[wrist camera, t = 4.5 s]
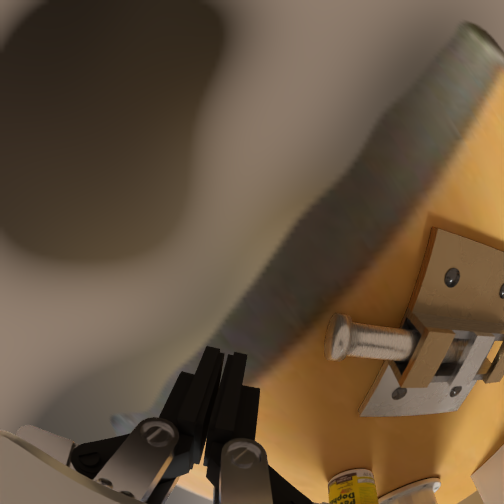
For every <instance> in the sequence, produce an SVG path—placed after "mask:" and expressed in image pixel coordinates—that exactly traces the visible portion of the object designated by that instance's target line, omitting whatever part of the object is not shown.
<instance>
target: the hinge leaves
mask: <svg viewBox="0 0 504 504" xmlns="http://www.w3.org/2000/svg"><path fill="white" fill-rule="evenodd" d="M399 329H407V330H416V331H419V332H420V334H421V335H422V336H421V338H420V341H419V343H418V345H417V347H416V349H415V351H414V353H413V355H412V357H411V359H410V361H394V360H385V361H384V363H383V365H382V367H381V369H380V371H379V373H378V375H377V377H376V379H375V381H374V383H373V385H372V387H371V388H370V390H369V392H368V394H367V396H366V397H365V399H364V401H363V403H362V404H361V406H360V408H359V410H358V412H359V416H360V417H388V416H412V415H425V414H435V413H444V412H452V411H457V410H458V408H459V407H460V406H461V404H462V403H463V401H464V400H465V398H466V397H467V395H468V394H469V392H470V391H471V389H472V388H473V386H474V384H475V383H476V381H477V380H483V381H484V382H485V383H493V382H500V380H501V379H502V377H503V375H504V252H502V251H500V250H497V249H495V248H492V247H489V246H487V245H484V244H481V243H479V242H476V241H473V240H470V239H468V238H465V237H462V236H459V235H456V234H453V233H450V232H447V231H444V230H441V229H438V228H435V227H432V230H431V234H430V238H429V242H428V246H427V249H426V253H425V256H424V260H423V263H422V267H421V270H420V273H419V276H418V279H417V282H416V285H415V288H414V291H413V294H412V297H411V300H410V302H409V305H408V308H407V310H406V313H405V315H404V318H403V320H402V323H401V325H400V328H399ZM454 338H459V339H470V340H469V342H468V344H467V346H466V348H465V350H464V352H463V354H462V356H461V358H460V359H459V361H458V363H442V361H443V359H444V357H445V355H446V353H447V351H448V349H449V347H450V345H451V343H452V341H453V339H454ZM494 341H503V343H502V345H501V347H500V349H499V351H498V353H497V355H496V357H495V358H494V360H493V362H492V363H491V362H490V361H489V360H488V359H487V358H486V357H487V355H488V353H489V351H490V349H491V347H492V345H493V343H494Z"/></svg>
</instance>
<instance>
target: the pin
mask: <svg viewBox="0 0 504 504" xmlns="http://www.w3.org/2000/svg"><path fill="white" fill-rule="evenodd" d="M421 336H422V335H421V334H420V332H419V331H416V330H407V329H399V328H391V327H383V326H376V325H369V324H362V323H355V322H352V319H351V317H350V316H349V315H345V314H339V313H335V314H334V315H333V316H332V318H331V320H330V322H329V325H328V328H327V332H326V337H325V344H324V354H325V358H326V359H327V360H331V361H339V362H340V361H342V360H344V358H345V357H346V356H350V357H360V358H370V359H381V360H394V361H410V359H411V357H412V355H413V353H414V351H415V349H416V347H417V345H418V343H419V341H420V338H421ZM469 340H470V339H459V338H454V339H453V341H452V343H451V345H450V347H449V349H448V351H447V353H446V355H445V357H444V359H443V361H442V363H458V361H459V359H460V358H461V356H462V354H463V352H464V350H465V348H466V346H467V344H468V342H469Z"/></svg>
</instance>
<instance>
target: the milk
mask: <svg viewBox="0 0 504 504" xmlns="http://www.w3.org/2000/svg"><path fill="white" fill-rule="evenodd" d="M471 478H472V480H473V482H474V484H475V486H476V488H477V490H478V492H479V494H480V496H481V498H482V500H483V502H484V504H504V444H503V445H502V446H501V447H500V449H499V450H498V451H497V452H496V453H495V454H494V455H493V456H492V457H491V458H490V459H489V460H487V461H486V462H485V463H484V464H483V465H482V466H481V467H480V468H479V469H478V470H477V471H476V472H474V473H473V474H472V475H471Z"/></svg>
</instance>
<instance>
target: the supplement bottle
mask: <svg viewBox="0 0 504 504" xmlns="http://www.w3.org/2000/svg"><path fill="white" fill-rule="evenodd" d="M328 494H329V503H331V504H379V503H378V497H377V492H376V486H375V481H374V477H373V473H372V472H371V471H370V470H367V469H353V470H348V471H345V472H342V473H340V474H338V475H336V476H334V477H333V478H332V479H331V480H330V481H329V483H328Z"/></svg>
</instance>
